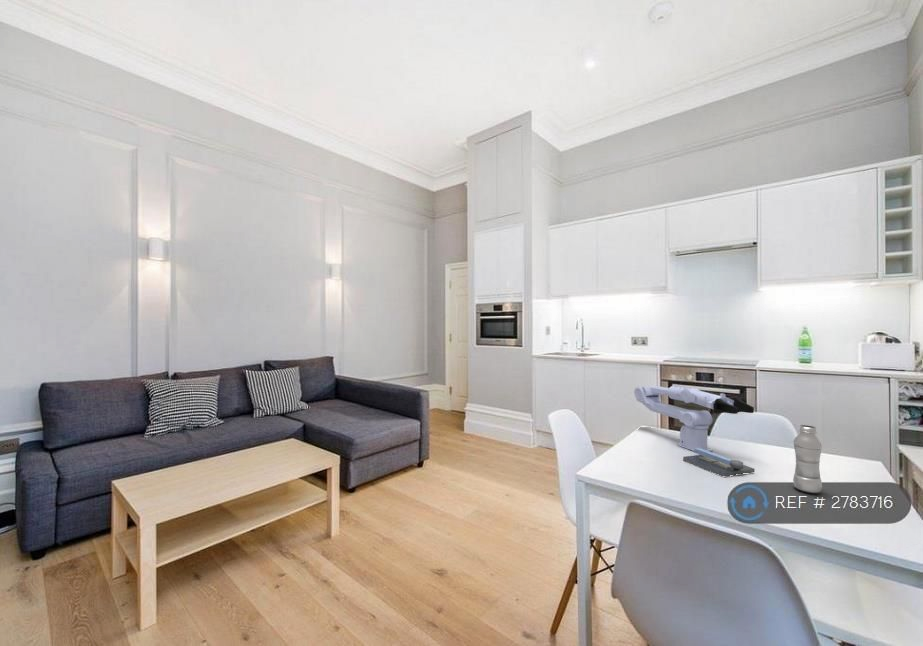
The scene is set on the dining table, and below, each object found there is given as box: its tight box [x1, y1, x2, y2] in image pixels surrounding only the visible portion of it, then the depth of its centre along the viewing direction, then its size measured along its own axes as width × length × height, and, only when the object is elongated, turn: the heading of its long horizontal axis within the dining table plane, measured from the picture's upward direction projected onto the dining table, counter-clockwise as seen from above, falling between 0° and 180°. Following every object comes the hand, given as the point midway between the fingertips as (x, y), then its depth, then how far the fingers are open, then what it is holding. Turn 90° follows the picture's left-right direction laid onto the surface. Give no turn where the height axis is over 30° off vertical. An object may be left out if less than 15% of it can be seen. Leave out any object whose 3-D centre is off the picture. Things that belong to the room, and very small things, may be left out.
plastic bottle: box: [792, 424, 823, 494], centre depth 117 cm, size 6×7×20 cm
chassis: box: [682, 454, 755, 477], centre depth 137 cm, size 16×14×2 cm
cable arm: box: [693, 448, 744, 469], centre depth 136 cm, size 17×4×2 cm, turn 17°
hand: (745, 410), depth 137 cm, fingers open, 7 cm apart
